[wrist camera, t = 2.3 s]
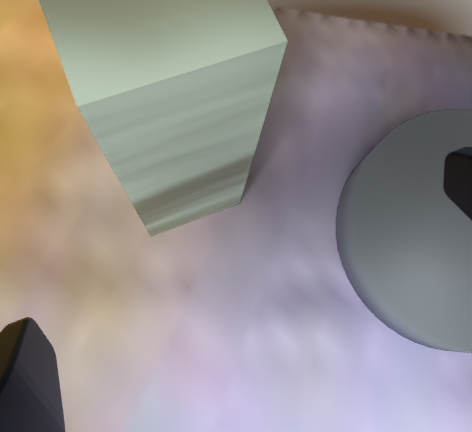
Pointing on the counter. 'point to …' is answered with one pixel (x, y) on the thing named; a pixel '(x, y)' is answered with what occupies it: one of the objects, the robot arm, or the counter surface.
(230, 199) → the sage block
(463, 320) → the slate plinth
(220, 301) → the counter surface
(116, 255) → the counter surface
